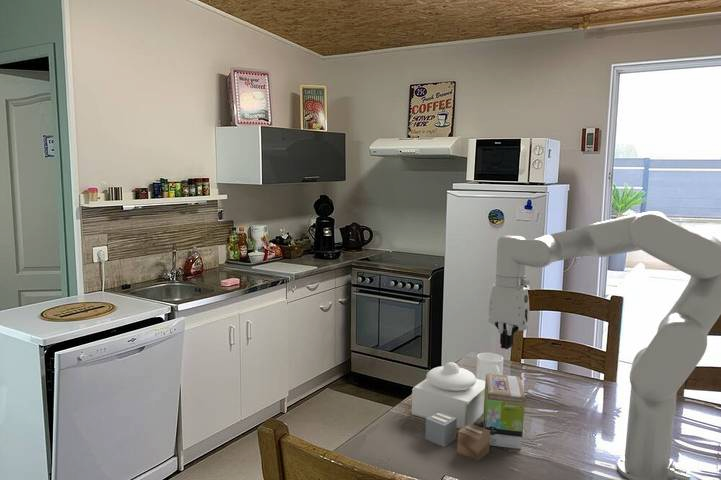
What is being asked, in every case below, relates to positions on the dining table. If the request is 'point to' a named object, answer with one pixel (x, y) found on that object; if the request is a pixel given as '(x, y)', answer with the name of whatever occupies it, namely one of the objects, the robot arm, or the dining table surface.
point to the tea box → (504, 410)
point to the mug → (488, 365)
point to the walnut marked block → (473, 441)
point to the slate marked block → (441, 428)
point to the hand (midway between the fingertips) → (506, 347)
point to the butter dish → (450, 394)
